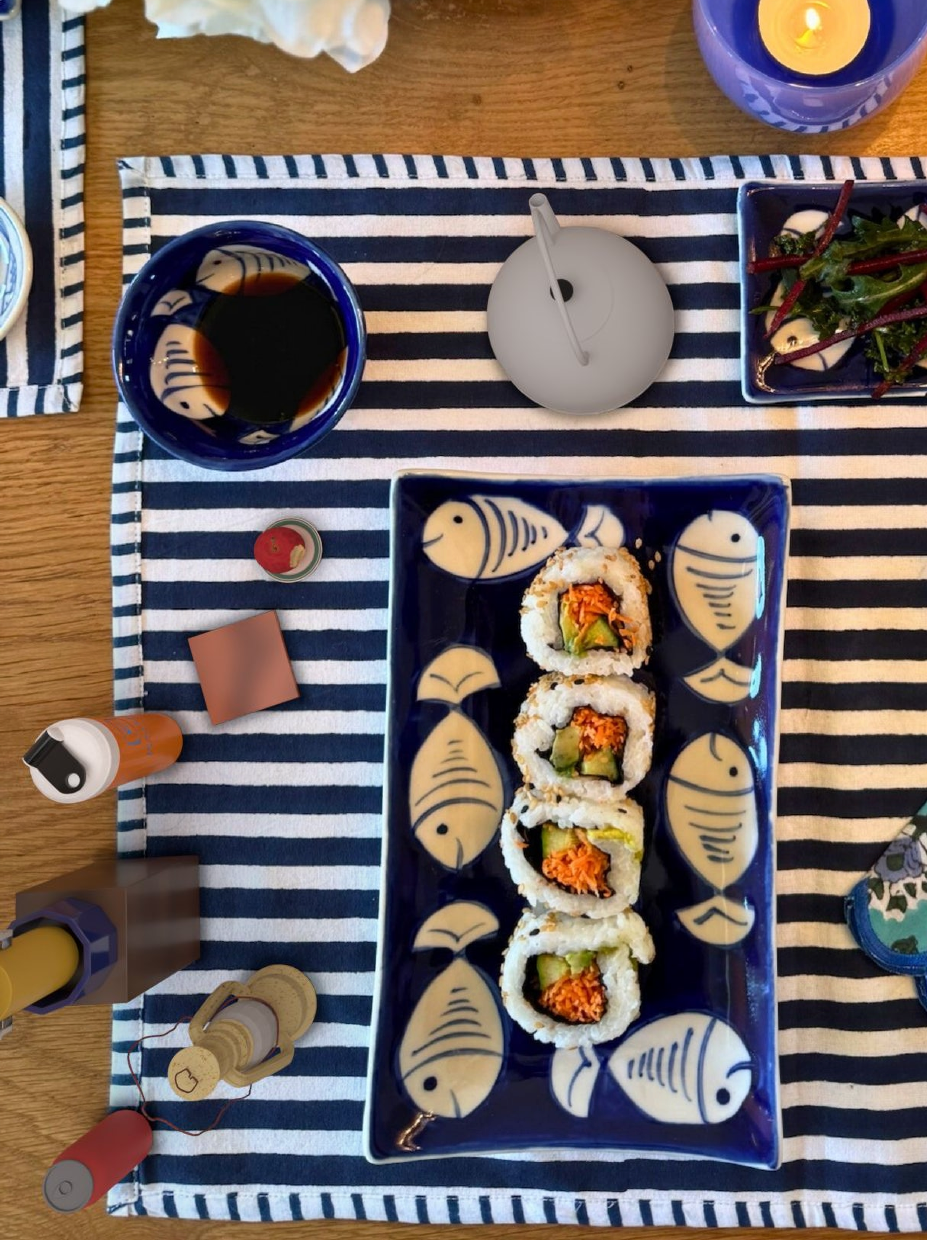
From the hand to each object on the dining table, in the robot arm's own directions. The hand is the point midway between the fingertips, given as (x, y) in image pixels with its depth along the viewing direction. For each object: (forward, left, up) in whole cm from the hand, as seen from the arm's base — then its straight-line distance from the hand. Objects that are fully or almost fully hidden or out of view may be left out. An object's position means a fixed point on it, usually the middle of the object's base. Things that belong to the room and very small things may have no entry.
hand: (5, 979), depth 113 cm
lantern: (+15, -12, -27) cm, 33 cm away
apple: (+18, +42, -27) cm, 53 cm away
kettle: (+55, +69, -27) cm, 92 cm away
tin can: (0, 0, -7) cm, 7 cm away
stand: (0, 0, -27) cm, 27 cm away
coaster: (+12, +28, -27) cm, 40 cm away
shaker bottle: (+1, +20, -27) cm, 33 cm away
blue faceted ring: (0, 0, -11) cm, 11 cm away
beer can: (-3, -26, -27) cm, 37 cm away
